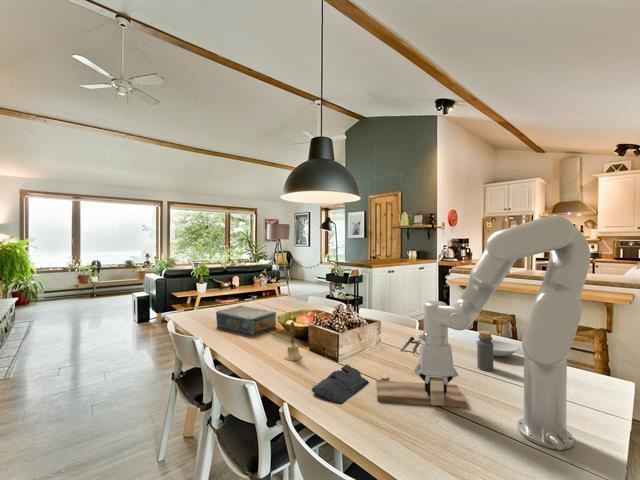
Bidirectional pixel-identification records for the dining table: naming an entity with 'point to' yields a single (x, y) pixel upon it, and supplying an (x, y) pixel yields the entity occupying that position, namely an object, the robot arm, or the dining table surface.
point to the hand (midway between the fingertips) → (435, 393)
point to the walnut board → (415, 393)
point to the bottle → (485, 351)
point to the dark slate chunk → (340, 385)
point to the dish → (502, 348)
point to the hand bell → (292, 347)
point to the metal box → (246, 319)
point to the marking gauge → (436, 390)
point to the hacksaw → (412, 342)
